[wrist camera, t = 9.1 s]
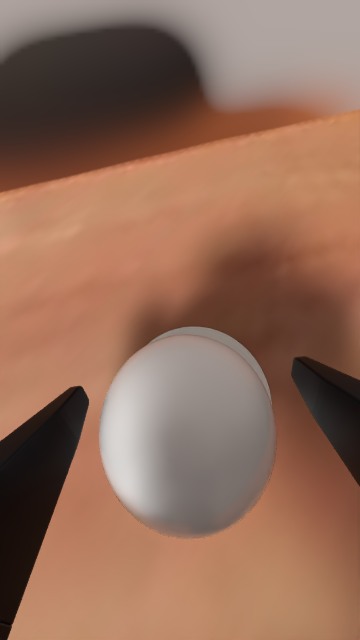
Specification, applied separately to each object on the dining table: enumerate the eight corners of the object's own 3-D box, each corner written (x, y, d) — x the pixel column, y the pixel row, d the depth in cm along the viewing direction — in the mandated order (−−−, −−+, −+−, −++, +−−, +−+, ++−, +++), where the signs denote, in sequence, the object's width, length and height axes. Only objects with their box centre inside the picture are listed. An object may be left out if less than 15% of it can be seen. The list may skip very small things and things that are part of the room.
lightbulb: (225, 354, 16) (277, 296, 5) (241, 441, 13) (385, 636, 3) (151, 363, 16) (63, 324, 6) (155, 449, 14) (25, 647, 3)
